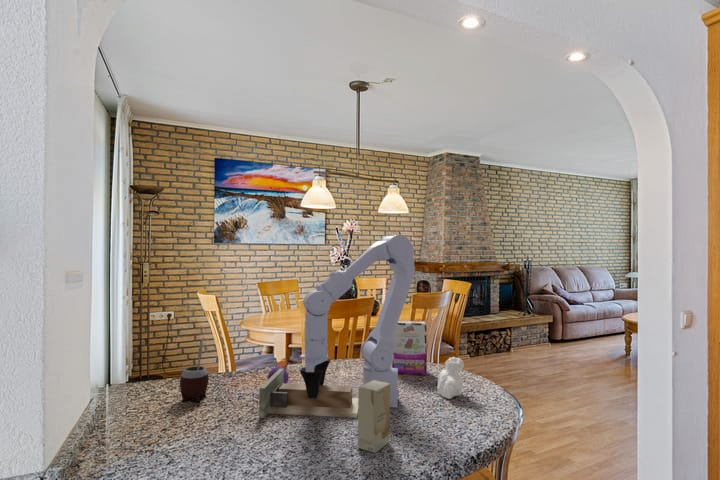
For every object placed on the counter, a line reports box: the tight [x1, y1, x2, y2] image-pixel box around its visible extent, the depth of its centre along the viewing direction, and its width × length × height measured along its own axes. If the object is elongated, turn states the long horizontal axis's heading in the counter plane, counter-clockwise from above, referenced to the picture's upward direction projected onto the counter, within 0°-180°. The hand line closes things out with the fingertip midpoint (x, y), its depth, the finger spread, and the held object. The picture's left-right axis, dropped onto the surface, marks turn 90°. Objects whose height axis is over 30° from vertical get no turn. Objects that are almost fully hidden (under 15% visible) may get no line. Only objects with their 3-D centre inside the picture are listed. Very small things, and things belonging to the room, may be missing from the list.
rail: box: [279, 383, 353, 408], centre depth 105 cm, size 18×4×4 cm, turn 84°
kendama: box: [267, 360, 290, 384], centre depth 127 cm, size 6×6×20 cm
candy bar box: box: [391, 320, 428, 376], centre depth 135 cm, size 11×5×16 cm, turn 81°
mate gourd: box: [179, 337, 210, 404], centre depth 110 cm, size 8×8×15 cm
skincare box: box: [357, 380, 391, 453], centre depth 85 cm, size 6×4×12 cm
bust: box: [436, 356, 465, 400], centre depth 115 cm, size 12×8×11 cm
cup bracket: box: [258, 369, 358, 419], centre depth 105 cm, size 23×16×7 cm
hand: (315, 392), depth 105 cm, fingers open, 6 cm apart
